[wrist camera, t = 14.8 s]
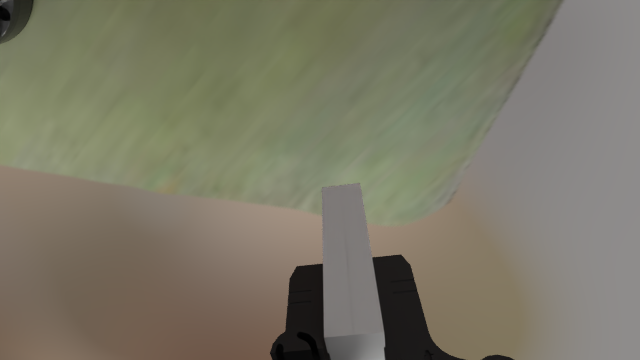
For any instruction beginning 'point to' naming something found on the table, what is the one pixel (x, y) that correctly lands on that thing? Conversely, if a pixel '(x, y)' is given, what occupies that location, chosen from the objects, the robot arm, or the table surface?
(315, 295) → the robot arm
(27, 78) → the table surface
